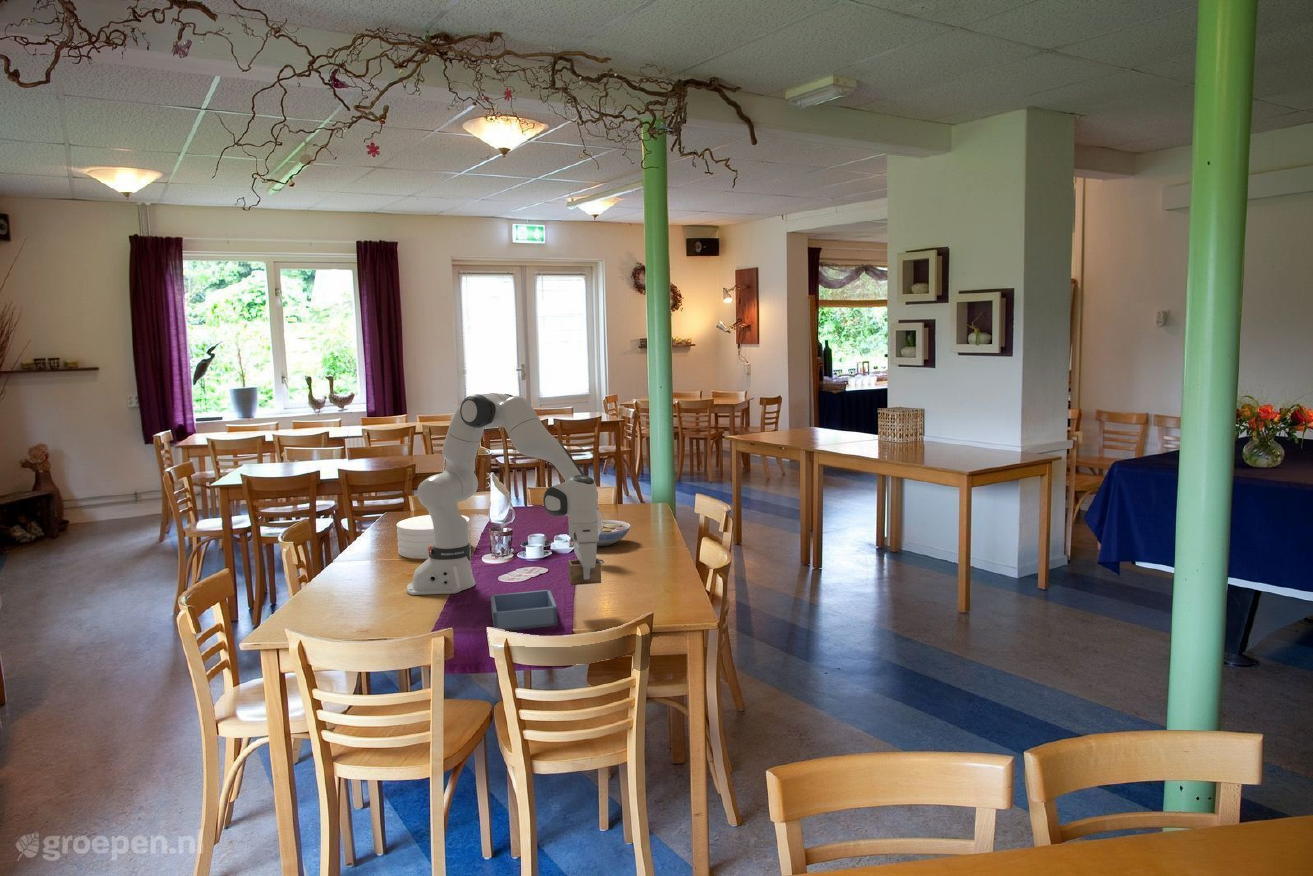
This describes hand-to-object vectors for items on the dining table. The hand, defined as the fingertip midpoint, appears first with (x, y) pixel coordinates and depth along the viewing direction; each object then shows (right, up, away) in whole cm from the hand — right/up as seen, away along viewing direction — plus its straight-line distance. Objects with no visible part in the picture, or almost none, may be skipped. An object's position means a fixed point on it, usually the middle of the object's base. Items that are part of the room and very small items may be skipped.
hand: (584, 575), depth 261 cm
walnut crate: (0, -2, 0) cm, 2 cm away
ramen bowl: (0, -1, +86) cm, 86 cm away
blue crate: (-18, -13, -3) cm, 22 cm away
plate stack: (-66, -4, +85) cm, 108 cm away
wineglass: (-2, -5, +59) cm, 59 cm away
